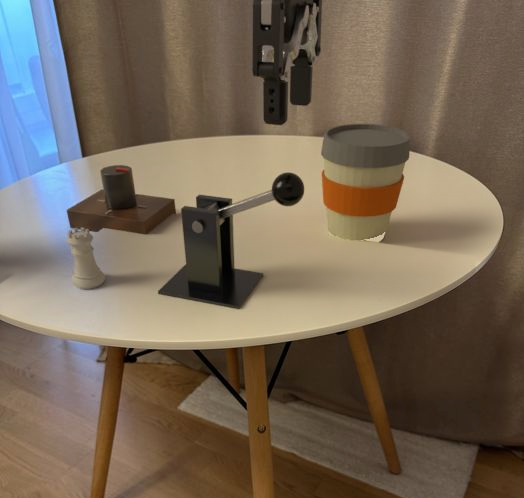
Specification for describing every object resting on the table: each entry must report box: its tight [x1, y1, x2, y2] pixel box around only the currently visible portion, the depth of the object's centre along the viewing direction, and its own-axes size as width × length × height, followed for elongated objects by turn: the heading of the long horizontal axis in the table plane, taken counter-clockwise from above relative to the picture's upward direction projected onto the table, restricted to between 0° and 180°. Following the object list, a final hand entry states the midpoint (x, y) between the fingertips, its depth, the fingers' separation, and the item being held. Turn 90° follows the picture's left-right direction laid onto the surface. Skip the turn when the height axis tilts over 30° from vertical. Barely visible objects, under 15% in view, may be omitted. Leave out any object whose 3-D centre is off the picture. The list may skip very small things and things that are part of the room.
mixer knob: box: [99, 164, 137, 209], centre depth 87 cm, size 5×5×6 cm
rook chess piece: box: [65, 227, 106, 290], centre depth 70 cm, size 4×4×8 cm
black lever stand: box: [157, 194, 265, 310], centre depth 68 cm, size 11×9×12 cm
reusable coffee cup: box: [320, 123, 411, 241], centre depth 82 cm, size 13×13×15 cm
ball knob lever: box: [202, 172, 305, 225], centre depth 63 cm, size 14×4×4 cm, turn 71°
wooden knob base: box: [66, 188, 177, 235], centre depth 89 cm, size 14×10×3 cm
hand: (288, 113), depth 56 cm, fingers open, 8 cm apart
